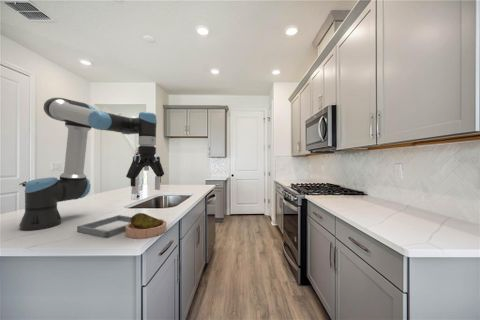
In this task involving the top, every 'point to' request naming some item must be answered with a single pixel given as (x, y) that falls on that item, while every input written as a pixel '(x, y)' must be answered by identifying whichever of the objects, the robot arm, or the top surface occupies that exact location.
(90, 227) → the tray
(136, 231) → the bowl
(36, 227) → the robot arm
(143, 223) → the pear
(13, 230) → the top surface
